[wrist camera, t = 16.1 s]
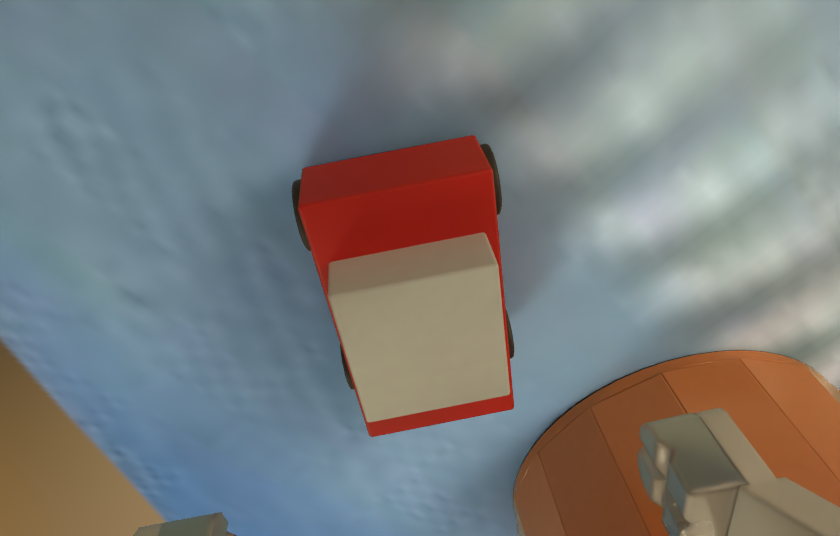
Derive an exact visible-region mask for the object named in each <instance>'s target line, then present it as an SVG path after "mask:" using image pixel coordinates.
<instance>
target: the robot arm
mask: <svg viewBox="0 0 840 536" xmlns="http://www.w3.org/2000/svg"><path fill="white" fill-rule="evenodd" d="M639 437H640V439H641V441H642V443H643V446H642V448H641V449H640V450H639V451H638V468H639V473H640V477H641V480H642V482H643V485H644V488H645V490H646V492H647V494H648V496H649V498H650V500H651V501H653V502H654V503H656V504H657V505H659V506H660V507H662V508H663V514H662V523H663V525H664V527H665V529H666V531H667V533H668V535H669V536H840V507H838V506H836V505H835V504H833V503H831V502H829V501H827V500H826V499H824V498H822V497H820V496H818V495H816V494H815V493H813V492H811V491H809V490H807V489H806V488H804V487H802V486H800V485H798V484H797V483H795V482H793V481H791V480H789V479H787V478H786V477H782V478H776V477H775V475H774V474H773V473H772V471H771V470H770V469H769V467H768V466H767V465H766V463H765V462H764V461H763V459H762V458H761V457H760V456H759V454H758V453H757V452H756V450H755V449H754V448H753V446H752V445H751V444H750V442H749V441H748V440H747V438H746V437H745V436H744V434H743V433H742V432H741V430H740V429H739V428H738V426H737V425H736V424H735V422H734V421H733V420H732V418H731V417H730V416H729V415H728V413H727V412H726V411H725V410H723V409H722V408H714V409H710V410H705V411H701V412H696V413H688V414H683V415H679V416H674V417H670V418H666V419H661V420H657V421H652V422H648V423H643V424H642V425H641V427H640V432H639ZM227 525H228V521H227V520H226V518H225V517H224V515H223V514H222V512H219V513H214V514H208V515H203V516H198V517H192V518H187V519H182V520H176V521H171V522H165V523H160V524H155V525H150V526H145V527H140V528H139V529H138V530H137V531H136V533H135V534H134V536H236V535H234V534H232V533H229V532H227Z"/></svg>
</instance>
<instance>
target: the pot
mask: <svg viewBox="0 0 840 536" xmlns="http://www.w3.org/2000/svg"><path fill="white" fill-rule="evenodd" d="M714 408H722V409H723V410H725V411H726V412H727V413H728V415H729V416H730V417H731V418H732V420H733V421H734V422H735V424H736V425H737V426H738V428H739V429H740V430H741V432H742V433H743V434H744V436H745V437H746V438H747V440H748V441H749V442H750V444H751V445H752V446H753V448H754V449H755V450H756V452H757V453H758V454H759V456H760V457H761V458H762V459H763V461H764V462H765V463H766V465H767V466H768V467H769V469H770V470H771V471H772V473H773V474H774V475H775V477H776V478H782V477H786V478H787V479H789V480H791V481H793V482H795V483H797V484H798V485H800V486H802V487H804V488H806V489H807V490H809V491H811V492H813V493H815V494H816V495H818V496H820V497H822V498H824V499H826V500H827V501H829V502H831V503H833V504H835V505H836V506H838V507H840V390H839V389H837V388H836V387H834V386H833V385H831V384H830V383H829V382H828V381H827V380H826V379H825V378H824V377H823V376H822V375H820V374H819V373H818V372H817V371H816V370H815V369H813V368H811V367H809V366H808V365H806V364H804V363H802V362H800V361H798V360H795V359H792V358H789V357H786V356H783V355H779V354H773V353H768V352H763V351H746V350H734V351H716V352H709V353H703V354H696V355H690V356H686V357H682V358H678V359H674V360H670V361H666V362H663V363H660V364H657V365H654V366H651V367H648V368H645V369H642V370H640V371H638V372H635V373H633V374H631V375H629V376H626V377H624V378H622V379H619V380H617V381H615V382H614V383H612V384H610V385H608V386H606V387H604V388H602V389H601V390H599V391H597V392H595V393H594V394H592V395H591V396H589V397H588V398H586V399H585V400H583V401H581V402H580V403H578V404H577V405H576V406H574V407H573V408H572V409H570V410H569V411H568V412H567V413H565V414H564V415H563V416H562V417H560V418H559V419H558V420H557V421H556V422H555V423H554V424H553V425H552V426H551V427H550V428H549V429H548V430H547V431H546V432H545V433H544V434H543V435H542V436H541V437H540V439H539V440H538V441H537V442H536V444H535V445H534V446H533V447H532V449H531V450H530V452H529V454H528V455H527V457H526V458H525V460H524V462H523V463H522V466H521V468H520V471H519V473H518V475H517V478H516V483H515V487H514V492H513V506H514V510H515V515H516V519H517V527H518V535H519V536H669V535H668V533H667V531H666V529H665V527H664V525H663V523H662V514H663V508H662V507H660V506H659V505H657V504H656V503H654V502H653V501H651V500H650V498H649V496H648V494H647V492H646V490H645V488H644V485H643V482H642V480H641V477H640V473H639V468H638V451H639V450H640V449H641V448H642V446H643V443H642V441H641V439H640V437H639V432H640V427H641V425H642V424H643V423H648V422H652V421H657V420H661V419H666V418H670V417H674V416H679V415H683V414H688V413H696V412H701V411H705V410H710V409H714Z"/></svg>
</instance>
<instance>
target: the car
mask: <svg viewBox="0 0 840 536" xmlns="http://www.w3.org/2000/svg"><path fill="white" fill-rule="evenodd" d="M292 199H293V207H294V213H295V218H296V222H297V226H298V229H299V233H300V236H301V238H302V241H303V243H304V245H305V247H306V248H307V250H309V251H311V252H312V255H313V259H314V262H315V265H316V268H317V271H318V274H319V278H320V281H321V284H322V287H323V290H324V293H325V297H326V300H327V303H328V306H329V309H330V312H331V316H332V319H333V322H334V325H335V328H336V331H337V335H338V338H339V341H340V349H341V356H342V362H343V367H344V372H345V376H346V379H347V382H348V385H349V386H350V388H351V389H355V392H356V395H357V398H358V401H359V404H360V407H361V411H362V414H363V417H364V420H365V423H366V426H367V430H368V433H369V435H370V436H371V437H374V436H379V435H385V434H390V433H395V432H400V431H405V430H410V429H415V428H420V427H425V426H430V425H435V424H440V423H445V422H450V421H455V420H460V419H466V418H471V417H476V416H481V415H486V414H491V413H496V412H501V411H506V410H511V409H513V408H514V400H513V389H512V378H511V367H510V359H511V358H512V357H513V356H514V342H513V336H512V330H511V325H510V321H509V317H508V314H507V311H506V308H505V300H504V289H503V277H502V266H501V255H500V244H499V233H498V222H497V215H498V214H500V212H501V207H502V196H501V186H500V180H499V174H498V169H497V165H496V161H495V158H494V155H493V152H492V150H491V148H490V146H489V145H488V144H481V145H479V143H478V141H477V139H476V137H475V136H473V135H471V136H466V137H461V138H456V139H450V140H445V141H440V142H435V143H430V144H425V145H419V146H414V147H409V148H404V149H399V150H394V151H388V152H383V153H378V154H373V155H368V156H363V157H357V158H352V159H347V160H342V161H337V162H332V163H326V164H321V165H316V166H311V167H306V168H303V169H302V176H301V179H300V180H296V181H295V182H293V187H292Z"/></svg>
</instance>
